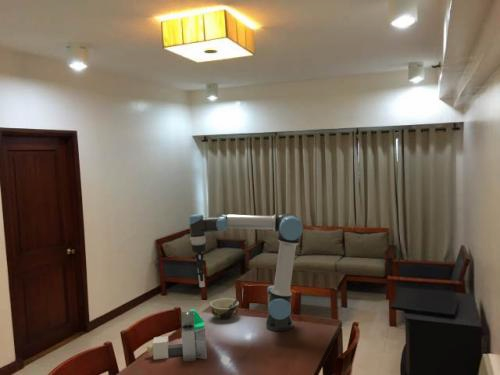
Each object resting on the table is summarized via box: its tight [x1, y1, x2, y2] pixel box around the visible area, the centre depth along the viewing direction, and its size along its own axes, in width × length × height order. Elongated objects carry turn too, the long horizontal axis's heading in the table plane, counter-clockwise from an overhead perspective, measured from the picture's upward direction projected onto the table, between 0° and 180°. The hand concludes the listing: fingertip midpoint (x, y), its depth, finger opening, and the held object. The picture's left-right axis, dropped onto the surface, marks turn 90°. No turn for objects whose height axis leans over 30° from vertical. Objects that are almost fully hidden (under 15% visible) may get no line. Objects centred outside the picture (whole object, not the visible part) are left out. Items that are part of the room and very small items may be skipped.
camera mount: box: [189, 308, 205, 331], centre depth 240 cm, size 12×8×10 cm, turn 99°
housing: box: [180, 310, 208, 362], centre depth 210 cm, size 11×19×20 cm, turn 8°
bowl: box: [209, 297, 240, 320], centre depth 255 cm, size 18×18×10 cm
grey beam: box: [146, 335, 205, 360], centre depth 209 cm, size 28×7×8 cm, turn 98°
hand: (201, 283), depth 224 cm, fingers open, 13 cm apart
